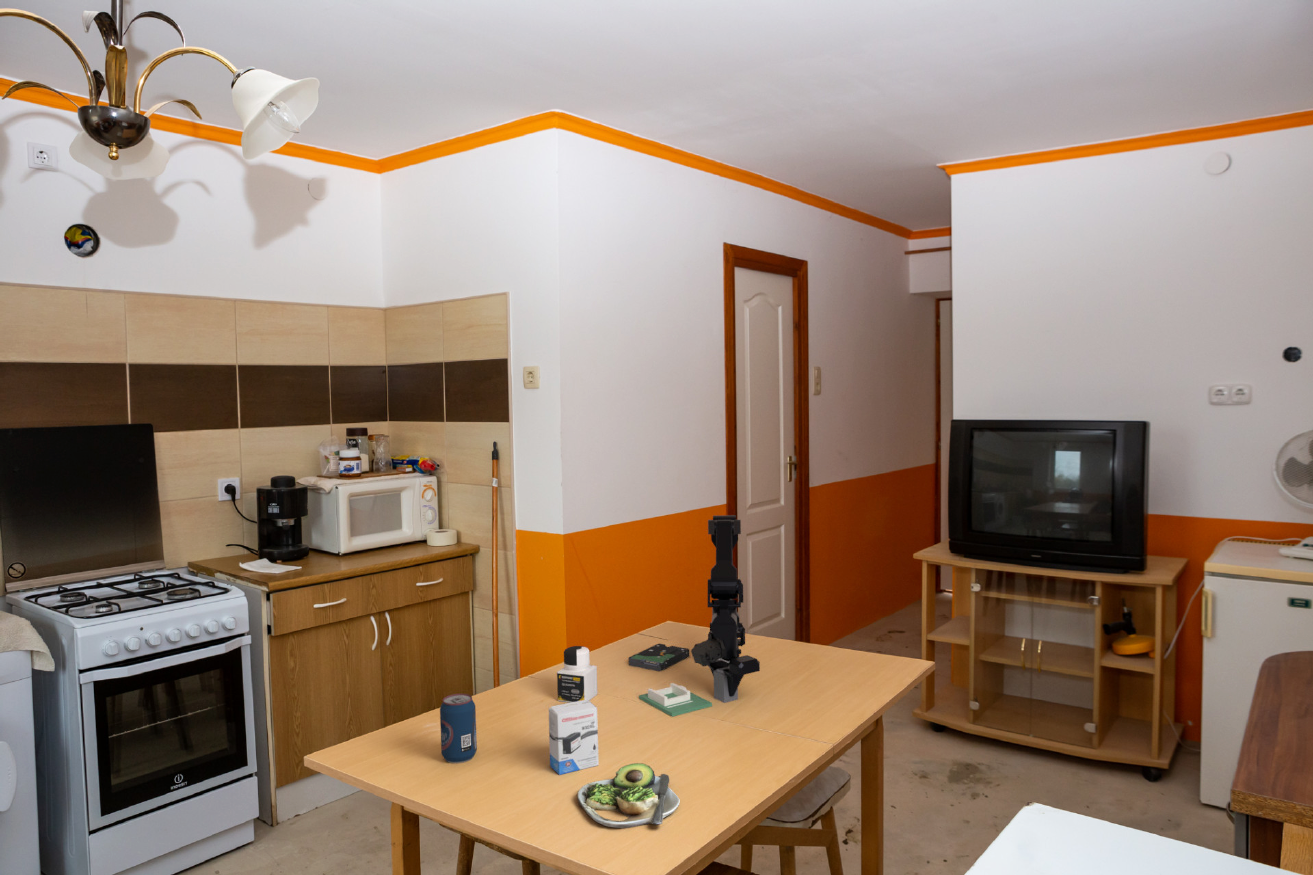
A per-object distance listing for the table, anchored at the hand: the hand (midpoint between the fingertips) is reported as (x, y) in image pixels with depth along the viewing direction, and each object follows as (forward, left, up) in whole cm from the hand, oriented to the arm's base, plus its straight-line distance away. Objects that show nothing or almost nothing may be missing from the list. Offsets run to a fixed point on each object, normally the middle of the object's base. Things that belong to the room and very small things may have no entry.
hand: (725, 693), depth 205 cm
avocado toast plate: (+31, -45, -2) cm, 55 cm away
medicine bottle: (-21, -28, -2) cm, 35 cm away
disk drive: (-33, +3, -2) cm, 33 cm away
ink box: (+12, -46, -2) cm, 48 cm away
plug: (0, 0, -1) cm, 1 cm away
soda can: (-5, -63, -1) cm, 63 cm away
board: (-5, -11, -1) cm, 12 cm away
